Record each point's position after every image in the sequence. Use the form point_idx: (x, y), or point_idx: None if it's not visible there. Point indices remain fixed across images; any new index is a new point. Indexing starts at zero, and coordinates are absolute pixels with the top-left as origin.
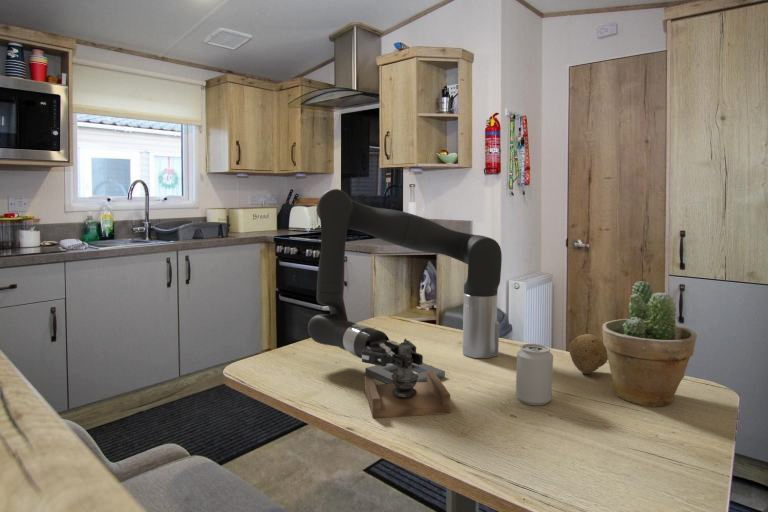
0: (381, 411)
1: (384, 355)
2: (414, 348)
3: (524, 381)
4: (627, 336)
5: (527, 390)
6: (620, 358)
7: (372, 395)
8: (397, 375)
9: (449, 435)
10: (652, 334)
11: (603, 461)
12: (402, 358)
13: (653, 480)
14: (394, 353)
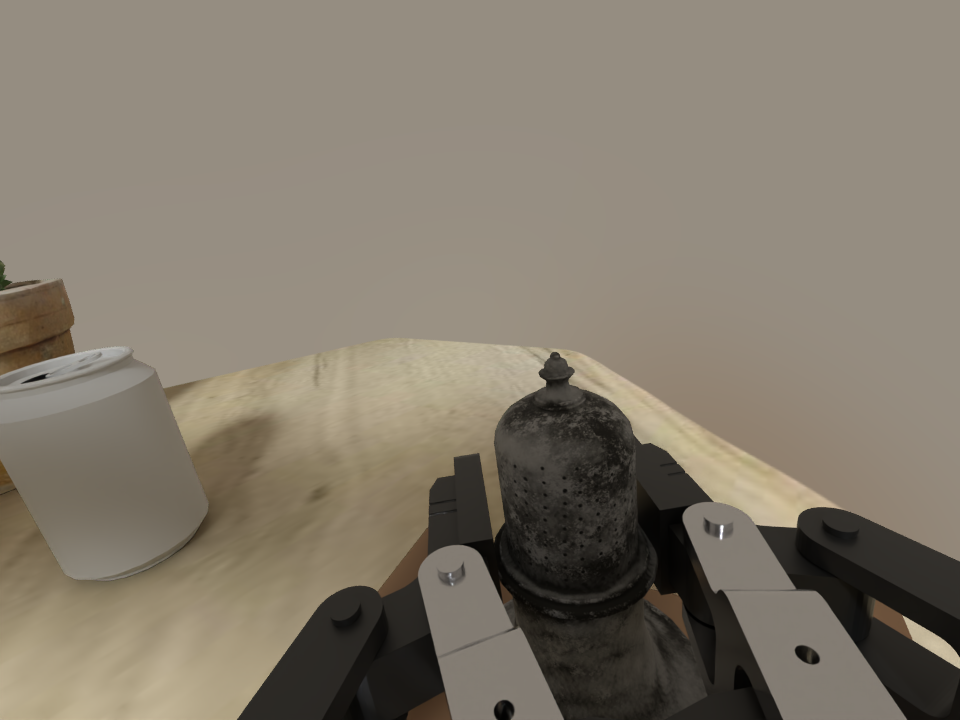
0: None
1: (824, 510)
2: (368, 590)
3: (179, 459)
4: (28, 286)
5: (194, 478)
6: (27, 360)
7: (900, 628)
8: (660, 649)
9: None
10: None
11: (389, 377)
12: (639, 443)
13: (390, 355)
14: (684, 520)
